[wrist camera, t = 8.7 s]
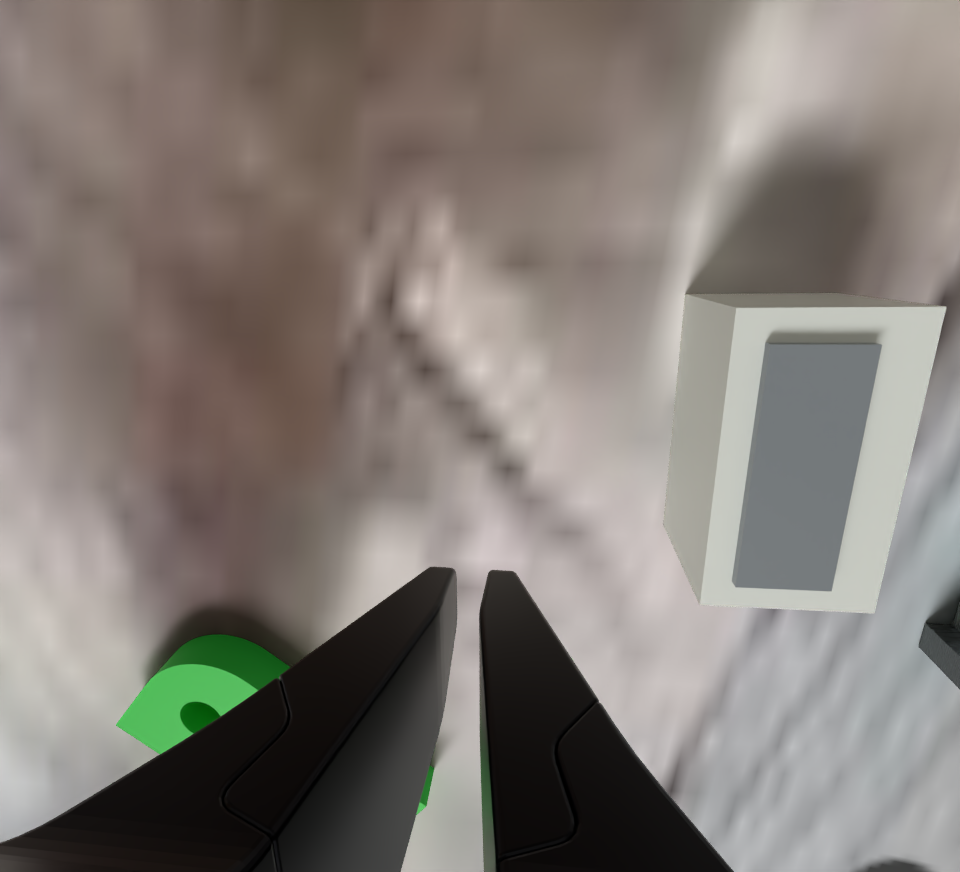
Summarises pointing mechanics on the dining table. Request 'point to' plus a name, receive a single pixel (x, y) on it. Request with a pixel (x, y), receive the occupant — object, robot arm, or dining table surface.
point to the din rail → (944, 647)
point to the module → (794, 444)
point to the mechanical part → (204, 691)
